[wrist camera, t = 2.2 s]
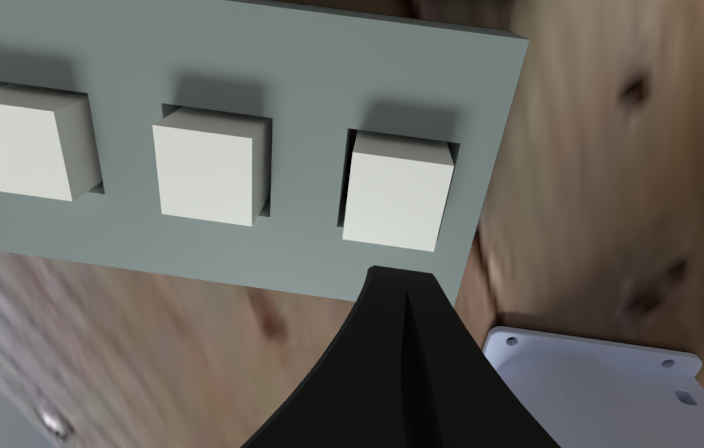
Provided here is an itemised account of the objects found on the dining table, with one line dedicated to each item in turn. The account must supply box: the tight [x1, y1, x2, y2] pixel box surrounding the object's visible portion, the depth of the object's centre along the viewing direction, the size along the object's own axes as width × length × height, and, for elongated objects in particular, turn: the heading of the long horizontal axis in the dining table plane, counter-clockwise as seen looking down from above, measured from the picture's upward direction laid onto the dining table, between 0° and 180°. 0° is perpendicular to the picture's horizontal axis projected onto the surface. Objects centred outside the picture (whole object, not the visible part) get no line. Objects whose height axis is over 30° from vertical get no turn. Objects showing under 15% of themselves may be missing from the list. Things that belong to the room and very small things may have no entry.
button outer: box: [0, 83, 103, 202], centre depth 15 cm, size 3×3×2 cm
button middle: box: [152, 106, 272, 227], centre depth 15 cm, size 3×3×2 cm
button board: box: [0, 0, 530, 308], centre depth 16 cm, size 18×10×2 cm, turn 84°
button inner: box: [342, 130, 454, 252], centre depth 15 cm, size 3×3×2 cm
